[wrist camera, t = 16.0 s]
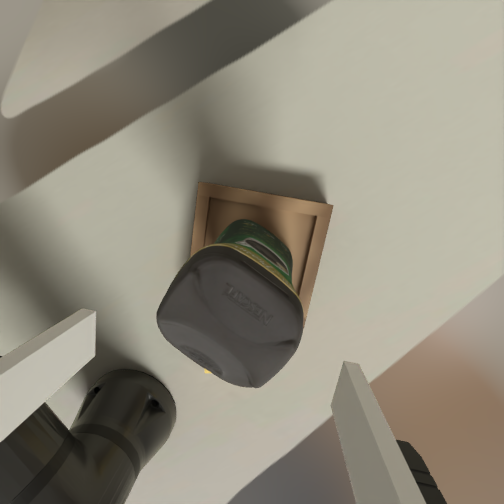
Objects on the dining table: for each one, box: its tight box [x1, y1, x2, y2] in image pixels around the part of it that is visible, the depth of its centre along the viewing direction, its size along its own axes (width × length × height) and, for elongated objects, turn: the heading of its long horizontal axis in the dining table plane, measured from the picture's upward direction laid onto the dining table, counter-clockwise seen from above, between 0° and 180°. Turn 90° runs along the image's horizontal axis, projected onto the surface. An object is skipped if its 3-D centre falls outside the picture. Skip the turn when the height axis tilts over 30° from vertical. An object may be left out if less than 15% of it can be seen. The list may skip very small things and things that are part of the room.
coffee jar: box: [157, 219, 304, 388], centre depth 24 cm, size 10×8×19 cm
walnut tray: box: [190, 182, 333, 328], centre depth 34 cm, size 16×16×4 cm
